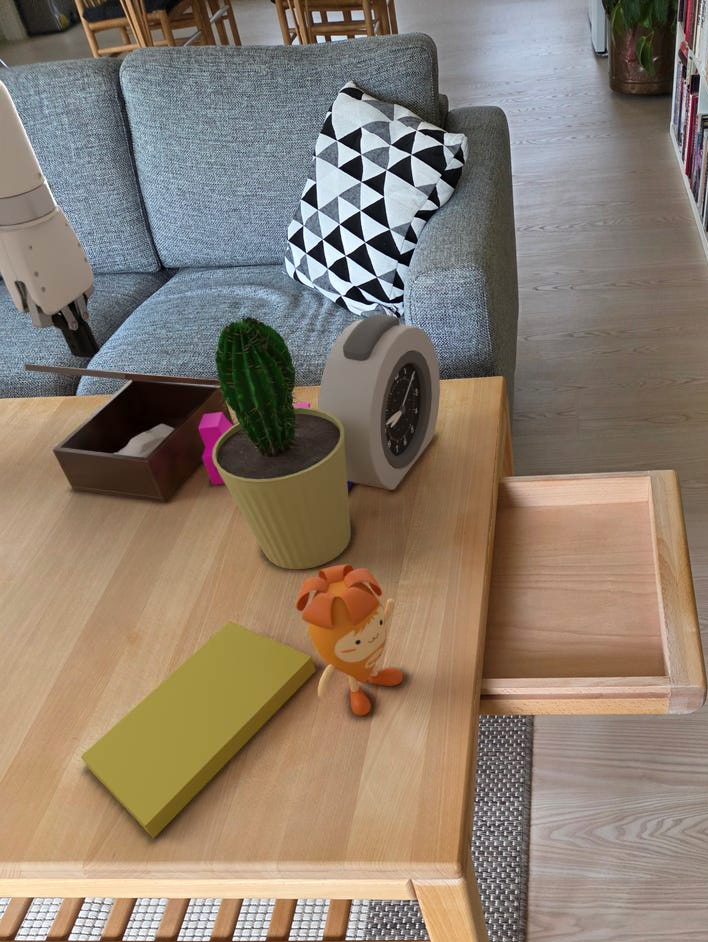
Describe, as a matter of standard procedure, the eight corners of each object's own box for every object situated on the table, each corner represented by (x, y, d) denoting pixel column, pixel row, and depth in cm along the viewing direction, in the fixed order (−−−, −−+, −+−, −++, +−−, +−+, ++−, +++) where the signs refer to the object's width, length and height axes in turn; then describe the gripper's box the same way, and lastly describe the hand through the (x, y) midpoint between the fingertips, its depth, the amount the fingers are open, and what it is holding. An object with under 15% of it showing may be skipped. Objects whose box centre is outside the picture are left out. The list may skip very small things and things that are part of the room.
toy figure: (351, 739, 88) (318, 636, 77) (299, 705, 92) (260, 602, 81) (428, 668, 94) (408, 562, 83) (376, 638, 98) (350, 534, 87)
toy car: (102, 475, 125) (92, 455, 122) (167, 434, 131) (160, 415, 129) (124, 486, 122) (115, 466, 120) (190, 444, 128) (183, 424, 126)
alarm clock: (380, 508, 115) (357, 371, 100) (330, 497, 117) (301, 361, 102) (444, 422, 128) (432, 291, 114) (398, 414, 130) (381, 284, 116)
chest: (165, 503, 120) (147, 461, 115) (73, 490, 124) (52, 449, 119) (234, 426, 133) (221, 385, 128) (148, 417, 137) (132, 377, 132)
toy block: (212, 484, 122) (194, 438, 117) (220, 459, 126) (203, 414, 121) (317, 473, 121) (303, 426, 116) (322, 448, 125) (309, 402, 120)
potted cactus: (334, 590, 104) (267, 358, 83) (225, 569, 109) (135, 344, 87) (387, 513, 114) (339, 287, 92) (285, 496, 118) (217, 278, 97)
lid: (125, 379, 109) (125, 372, 108) (24, 370, 113) (24, 363, 113) (220, 385, 128) (220, 380, 127) (131, 377, 132) (131, 372, 132)
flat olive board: (235, 634, 100) (70, 786, 87) (230, 620, 99) (61, 774, 85) (315, 670, 95) (153, 838, 82) (311, 656, 93) (145, 826, 80)
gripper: (34, 180, 105) (96, 325, 118) (-52, 230, 95) (26, 381, 108) (85, 181, 103) (143, 328, 116) (2, 231, 93) (75, 386, 106)
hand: (86, 353), depth 112 cm, fingers closed
